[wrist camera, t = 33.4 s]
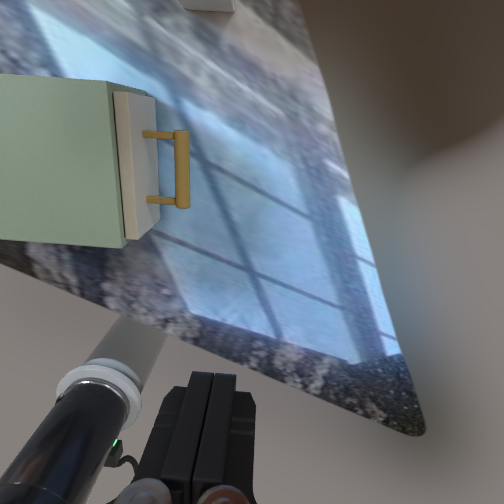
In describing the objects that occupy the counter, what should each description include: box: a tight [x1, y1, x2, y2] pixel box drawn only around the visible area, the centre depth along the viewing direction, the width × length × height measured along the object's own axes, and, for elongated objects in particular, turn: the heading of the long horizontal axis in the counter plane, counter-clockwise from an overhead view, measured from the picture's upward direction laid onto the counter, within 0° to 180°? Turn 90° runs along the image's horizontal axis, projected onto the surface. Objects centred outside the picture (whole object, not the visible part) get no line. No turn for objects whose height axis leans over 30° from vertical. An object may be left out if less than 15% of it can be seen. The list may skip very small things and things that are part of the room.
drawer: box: [113, 91, 190, 240], centre depth 31 cm, size 19×12×7 cm, turn 86°
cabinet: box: [0, 74, 146, 249], centre depth 31 cm, size 16×14×9 cm
